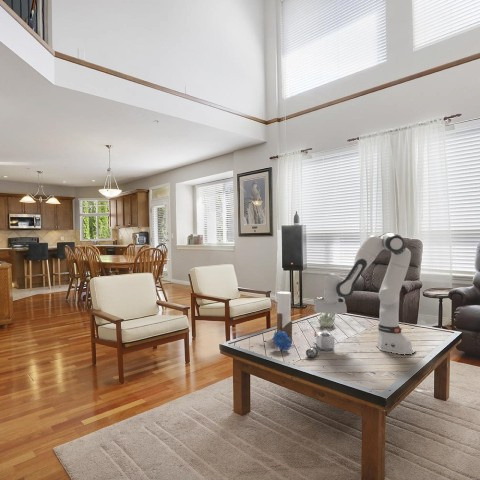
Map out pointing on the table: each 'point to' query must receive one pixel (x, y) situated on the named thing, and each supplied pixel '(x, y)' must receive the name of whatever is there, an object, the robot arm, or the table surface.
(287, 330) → the wooden hammer
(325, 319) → the wavy plaster lump
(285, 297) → the cylinder container
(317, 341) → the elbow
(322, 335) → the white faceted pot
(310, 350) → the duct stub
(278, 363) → the table surface
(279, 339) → the grapes
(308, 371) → the table surface
